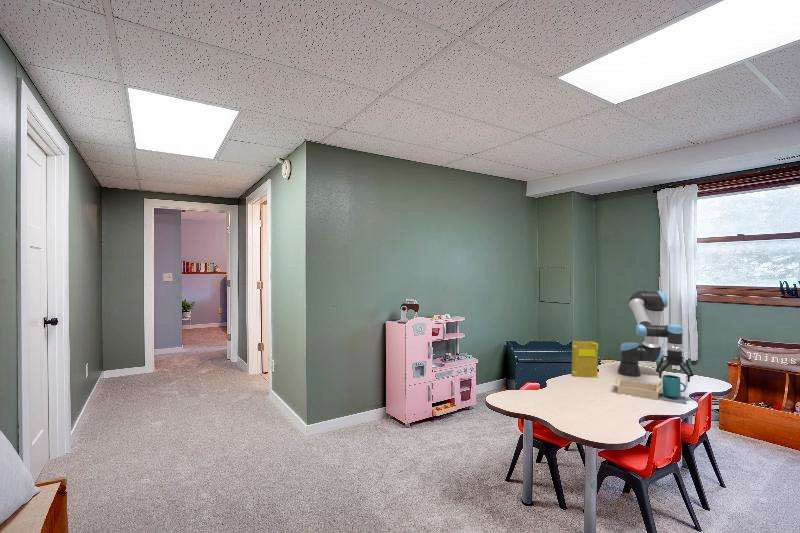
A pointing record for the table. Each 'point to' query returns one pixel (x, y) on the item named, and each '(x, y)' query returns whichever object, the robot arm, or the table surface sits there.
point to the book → (584, 359)
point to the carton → (638, 388)
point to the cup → (672, 385)
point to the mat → (674, 399)
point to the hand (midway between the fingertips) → (674, 385)
